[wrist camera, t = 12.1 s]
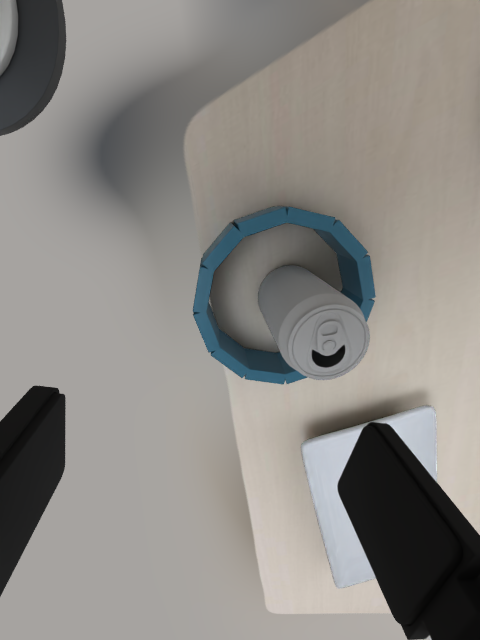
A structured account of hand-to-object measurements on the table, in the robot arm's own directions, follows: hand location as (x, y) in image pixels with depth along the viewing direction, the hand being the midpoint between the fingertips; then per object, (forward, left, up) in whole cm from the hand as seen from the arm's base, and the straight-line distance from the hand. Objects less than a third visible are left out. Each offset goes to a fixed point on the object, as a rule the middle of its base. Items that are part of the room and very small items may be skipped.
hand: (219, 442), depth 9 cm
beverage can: (+6, +5, -22) cm, 23 cm away
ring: (+5, +5, -22) cm, 23 cm away
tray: (+39, +1, -22) cm, 45 cm away
